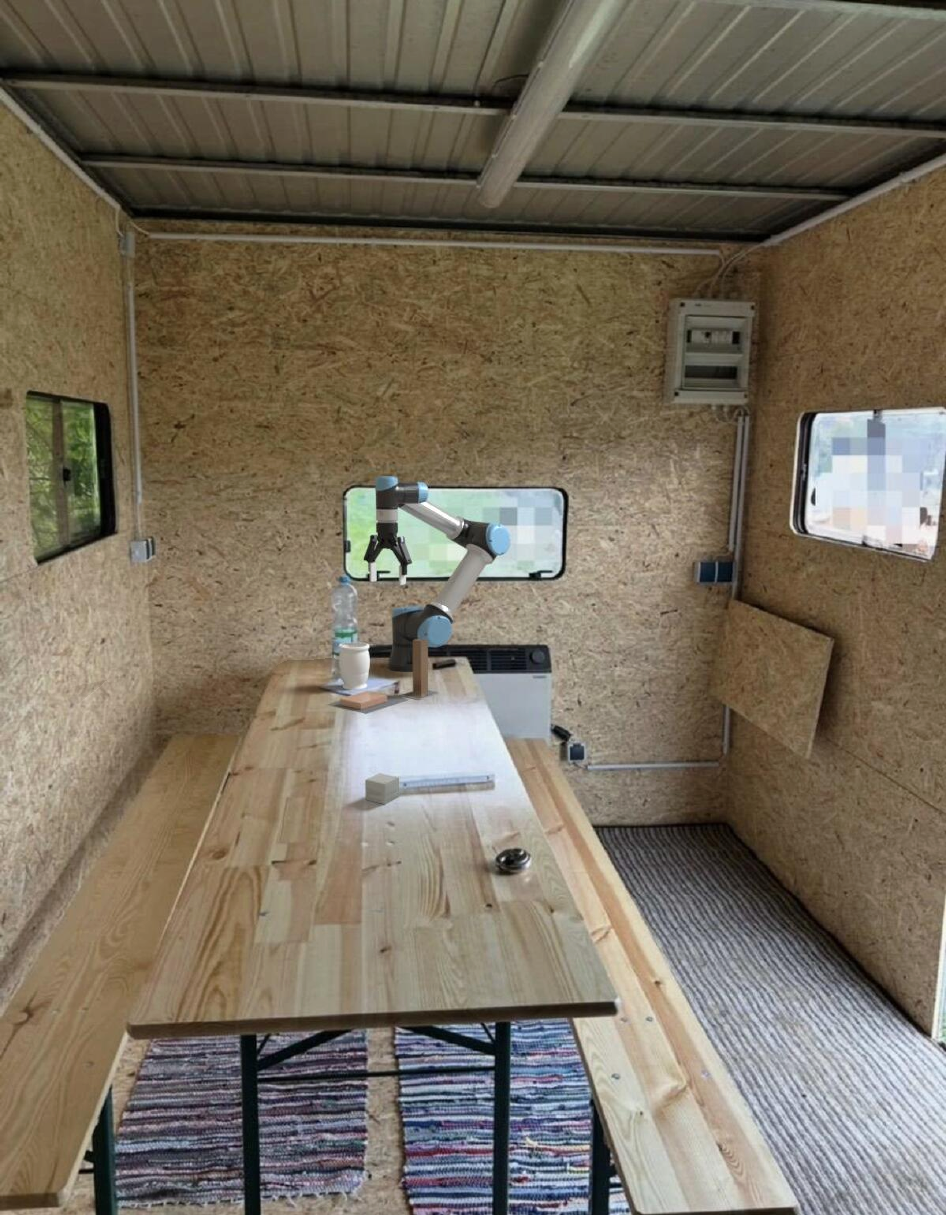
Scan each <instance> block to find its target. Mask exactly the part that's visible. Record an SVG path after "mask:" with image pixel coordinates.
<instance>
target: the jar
mask: <svg viewBox="0 0 946 1215" xmlns="http://www.w3.org/2000/svg"><path fill="white" fill-rule="evenodd" d="M338 648H339V650H340V652H339V655H338V666H339V667H338V668H339V672H340V677H341V680H342V682H343V685H342V688H343V689H345V690H354V691H356V690H365V689H366V688H367V687H368V684H367V681H368V678H369V671H370V664H371V661H370V652H369V649H370V644H369V643H367V642H361V641H360V642H357V641H355V642H354V641H353V642H343V643H340V644H339V645H338Z"/></svg>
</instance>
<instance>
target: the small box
mask: <svg viewBox="0 0 946 1215" xmlns="http://www.w3.org/2000/svg"><path fill="white" fill-rule="evenodd" d="M364 784H365V800H366V801H369V802H375V803H376V804H377V803H378V804H382V805H387V804H389V803H390V802H393V801H394V800H396V799H399V797H400V777H399V776H394V775H389V774H384V773H382V772H381V773H377V774H374V775H373V776H371V777H369V778H367V779H365V782H364Z"/></svg>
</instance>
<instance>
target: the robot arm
mask: <svg viewBox="0 0 946 1215" xmlns="http://www.w3.org/2000/svg"><path fill="white" fill-rule="evenodd" d="M398 480H399V479H398V477H397V476H386V475H385V476H378V477H376V479H375V488H374V491H375V521H377V522H376V523H375V532H376V534H371V535H370V536H369V542H368V546H367V549H366V551H365V553H364V556H363V561H366V562H367V563H368V564H367V565H368V566H367V567H368V569H367V570H368V572H369V582H370V583H373V582H377V577H378V576H377V562H376V560H377V558H378V557H379V555H380V553H381V552H382V551H383V550H384V549H386V550H390V551H392V553H393V555H394V556H395V558H396V560H397V561H398V563H399V564H400V565H398V585H399V586H402V585H403V586H404V585H407V575H408V565H411V564H412V563H413V561H412V557H411V554H410V552H409V550H408V547H407V545H406V539H405V536H397V535H398V533H399V523H398V520H399V512H398V511H399V510H398V509H400V510H402V511H404V512H406V513H407V514H408V515H411V516H413V517H414V518H416V519H418V520H420V521H422V522H424V523H425V524H427V525H429V526H430V527H432V528H434V529H436V530H438V531H439V532H441V533H443V534H445V536H446V538H447V539H448V540H450V541H452V542H453V543H455V544H457V545H459V546H460V547H462V548H463V549H465V550H466V553H465V555H464V556H463V558H462V559H461V560H460V562H459V563H458V565H457V566H456V568H455V570H454V571H453V572H452V574H451V575H450V577H449V578H448V580H447V581H446V583H445V584H444V585H443V587H442V588H441V590H440V591H439V593H438V594H437V596H436V597H435V599H434V600H433V602H428V603H426V604H425V606H424V607H423V606H422V605H414V606H413V605H411V606H410V605H409V606H401V607H395V608H394V609H392V612H391V614H392V615H391V620H392V622H391V623H392V624H391V625H392V626H391V628H392V629H391V630H392V633H391V634H392V648H391V651H390V654H389V659H388V661H387V667H388V669H390V670H393V671H400V672H413V640H415V639H419V638H420V639H427V640H428V648H439V647H441V646H444V645H445V644H446V643H447V642H448V641H449V640H450V638H451V636H452V632H453V631H452V629H453V625H452V624H453V623H454V617H453V616H454V614H455V612H456V611H457V609H458V608H459V606H460V605H461V603H462V602H463V600H464V599H465V598H466V596H467V595H468V593H469V591H470V590H471V589H472V587H473V585H474V584H475V582H476V581H477V579H478V578H479V576H480V575H481V573H482V572H483V570H484V569H485V568H486V566H487V565H492V564H493V562H494V561H495V560H496V559H497V558H498V556H502V555H505V554H506V553H507V552H508V551H509V549H510V546H511V538H510V537H511V535H510V532H509V530H508V529H507V527H506V526H505V525H503V524H502V523H497V522H484V521H474V520H470V519H469V520H468V519H465V518H464V517H461V516H454V515H453V514H452V513H450V512H448V511H447V510H444V509H442V508H441V507H439V506H437V505H435V504H434V503H432V502H431V501H429V500H428V498H429V488H428V485H427V484H426V483H424V482H423V481H420V482H419V481H398Z"/></svg>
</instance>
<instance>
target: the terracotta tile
mask: <svg viewBox="0 0 946 1215" xmlns="http://www.w3.org/2000/svg"><path fill="white" fill-rule="evenodd" d="M378 693H379V692H378ZM378 693H377V692H374V691H368V690H365V691H362V692H359V693H355V694H351V695H348V696H345V697H344V696H343V697H340V698H339V701H340V705H343V706H347V707H352V708H356V709H360V710H361V709H365V708H368V707H371V706H374V705H377V704H380V703H384V702H387V695H388V694H384V693H383V694H384V695H383V694H382V693H379V694H378Z"/></svg>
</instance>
